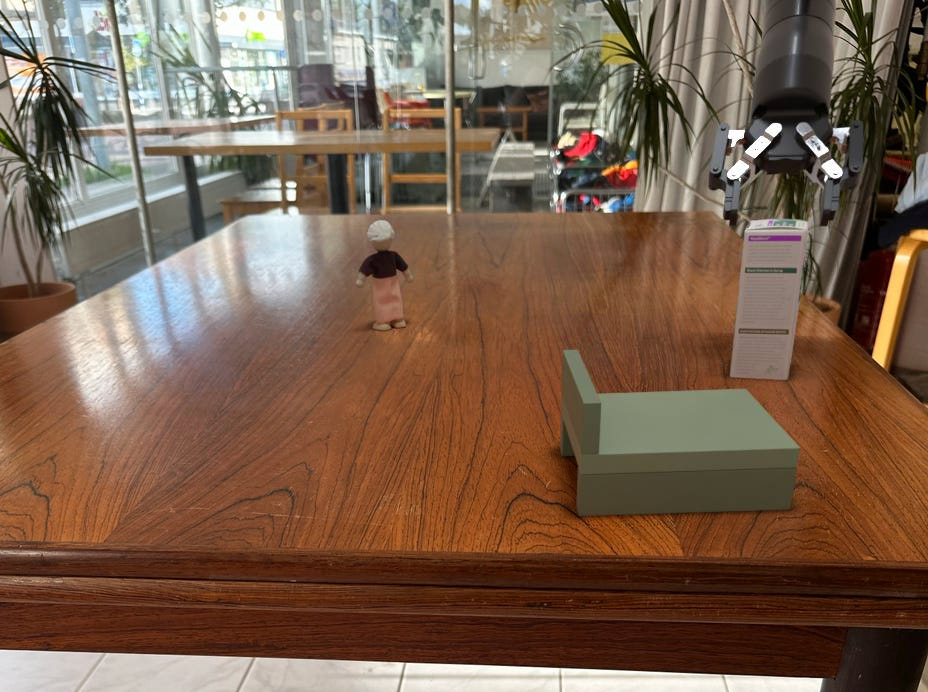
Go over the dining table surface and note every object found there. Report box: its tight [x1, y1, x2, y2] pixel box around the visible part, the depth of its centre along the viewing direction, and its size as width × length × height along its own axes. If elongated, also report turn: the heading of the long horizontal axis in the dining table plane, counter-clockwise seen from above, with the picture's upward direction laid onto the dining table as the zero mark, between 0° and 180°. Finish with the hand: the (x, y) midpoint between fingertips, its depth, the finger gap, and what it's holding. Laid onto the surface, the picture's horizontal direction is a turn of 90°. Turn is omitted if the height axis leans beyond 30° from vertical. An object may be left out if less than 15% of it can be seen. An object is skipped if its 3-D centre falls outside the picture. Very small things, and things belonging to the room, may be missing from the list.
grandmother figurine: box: [355, 219, 414, 331], centre depth 117 cm, size 8×4×13 cm, turn 130°
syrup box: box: [729, 218, 810, 381], centre depth 93 cm, size 6×6×14 cm
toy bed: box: [559, 349, 801, 517], centre depth 71 cm, size 15×14×9 cm
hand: (778, 220), depth 92 cm, fingers open, 8 cm apart
